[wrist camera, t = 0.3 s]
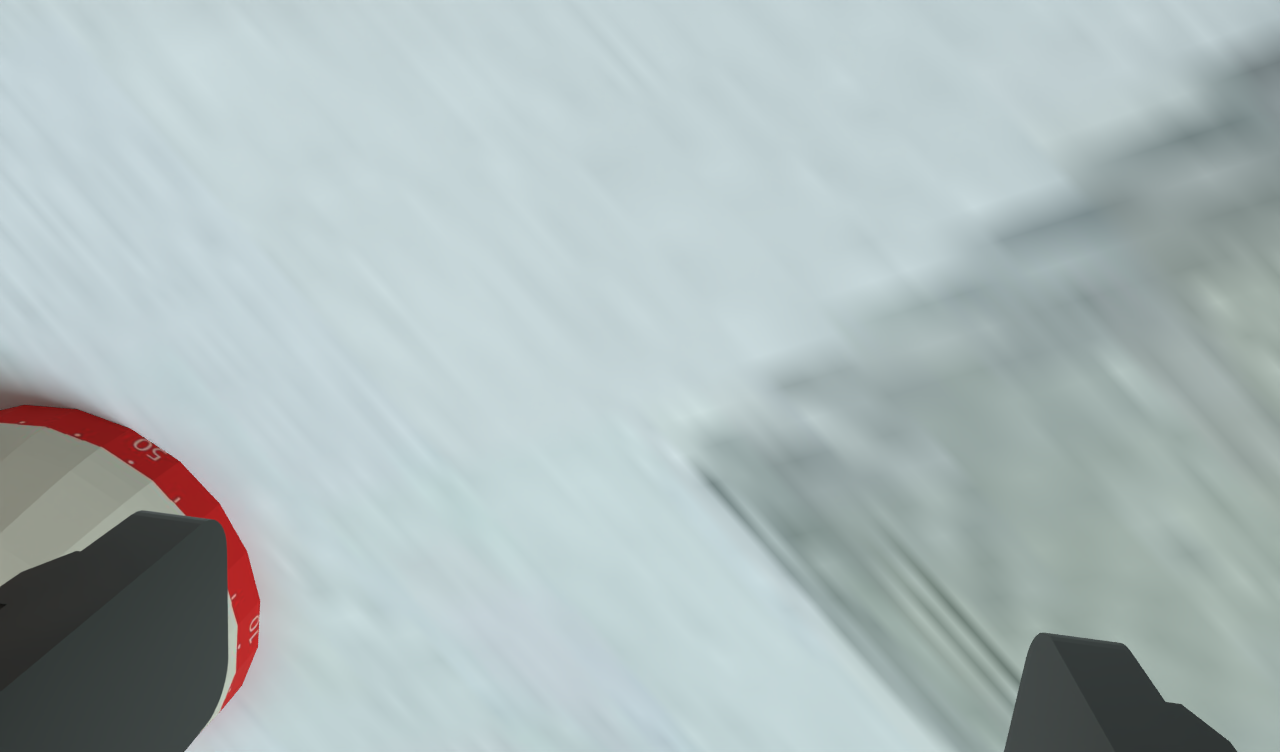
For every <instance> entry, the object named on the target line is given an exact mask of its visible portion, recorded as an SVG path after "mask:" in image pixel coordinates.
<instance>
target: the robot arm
mask: <svg viewBox="0 0 1280 752" xmlns="http://www.w3.org/2000/svg"><path fill="white" fill-rule="evenodd" d="M227 669H228V581H227V541H226V535H225V532H224V529H223V527H222V525H221V524H220V523H219V522H218V521H216V520H213V519H206V518H198V517H191V516H183V515H176V514H168V513H161V512H153V511H146V510H141V511H137V512H135V513H133V514H132V515H130V516H129V517H127V518H126V519H125V520H123V521H122V522H121V523H119V524H118V525H116V526H115V527H114V528H112V529H111V530H109V531H108V532H107V533H105V534H104V535H103V536H101V537H100V538H98V539H97V540H96V541H94V542H93V543H91V544H90V545H89V546H87V547H86V548H85V549H83V550H82V551H74V552H72V553H69V554H67V555H64V556H61V557H59V558H56V559H54V560H51V561H48V562H46V563H43V564H41V565H38V566H36V567H33V568H30V569H28V570H25V571H23V572H20V573H19V574H18V575H16V576H15V577H13V578H12V579H10V580H9V581H7V582H6V583H5V584H3V585H2V586H0V752H184V751H185V750H186V749H187V748H188V747H189V745H190V744H191V743H192V742H193V740H194V739H195V738H196V737H197V736H198V734H199V733H200V732H201V731H202V729H203V728H204V727H205V726H206V724H207V723H208V722H209V720H210V719H211V717H212V715H213V714H214V712H215V709H216V707H217V705H218V703H219V700H220V698H221V695H222V692H223V688H224V684H225V680H226V675H227ZM1004 752H1237V751H1236V749H1235V748H1234V747H1233V745H1232V744H1231V743H1230V742H1229V741H1228V740H1227V739H1226V738H1224V737H1223V736H1222V735H1220V734H1219V733H1218V732H1216V731H1215V730H1214V729H1213V728H1211V727H1210V726H1209V725H1207V724H1206V723H1205V722H1204V721H1202V720H1201V719H1200V718H1198V717H1197V716H1196V715H1195V714H1193V713H1192V712H1191V711H1189V710H1188V709H1187V708H1185V707H1184V706H1183V705H1182V704H1176V703H1169V702H1165V701H1164V699H1163V698H1162V696H1161V695H1160V693H1159V692H1158V690H1157V689H1156V688H1155V686H1154V685H1153V683H1152V682H1151V680H1150V679H1149V677H1148V676H1147V674H1146V673H1145V672H1144V670H1143V669H1142V667H1141V666H1140V664H1139V663H1138V661H1137V660H1136V658H1135V657H1134V656H1133V654H1132V653H1131V651H1130V650H1129V649H1128V648H1127V646H1125V645H1124V644H1122V643H1117V642H1109V641H1102V640H1094V639H1087V638H1079V637H1072V636H1065V635H1057V634H1050V633H1039V634H1038V635H1037V636H1036V637H1035V638H1034V640H1033V641H1032V643H1031V645H1030V648H1029V650H1028V653H1027V657H1026V661H1025V665H1024V669H1023V674H1022V678H1021V682H1020V686H1019V691H1018V695H1017V699H1016V703H1015V708H1014V712H1013V716H1012V720H1011V725H1010V729H1009V733H1008V737H1007V742H1006V746H1005V750H1004Z"/></svg>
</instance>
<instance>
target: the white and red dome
mask: <svg viewBox="0 0 1280 752" xmlns="http://www.w3.org/2000/svg"><path fill="white" fill-rule="evenodd" d="M141 510H146V511H153V512H161V513H168V514H176V515H183V516H191V517H198V518H206V519H213V520H216V521H218V522H219V523H220V524H221V525H222V527H223V529H224V532H225V535H226V541H227V581H228V669H227V675H226V680H225V684H224V688H223V692H222V695H221V698H220V700H219V703H218V705H217V707H216V709H215V712H214V714H213V715H212V717H211V719H210V720H209V722H208V723H207V724H206V726H207V725H208V724H209V723H210V722H211V721H212V720H213V719H214V718H215V717H216V716H217V715H218V714H219V713H220V711H221V710H222V709H223V708H224V706H225V705H226V704H227V703H228V702H229V700H230V699H231V698H232V697H233V696H234V694H235V693H236V692H237V691H238V690H239V688H240V687H241V686H242V684H243V681H244V679H245V677H246V674H247V672H248V669H249V667H250V665H251V662H252V660H253V657H254V655H255V652H256V650H257V648H258V633H259V611H260V599H259V595H258V591H257V588H256V584H255V580H254V576H253V572H252V569H251V565H250V561H249V557H248V553H247V551H246V549H245V547H244V545H243V544H242V542H241V540H240V538H239V537H238V535H237V533H236V531H235V530H234V528H233V526H232V524H231V523H230V521H229V519H228V517H227V516H226V514H225V512H224V510H223V509H222V507H221V505H220V504H219V502H218V501H217V500H216V499H215V498H214V497H213V496H212V495H211V494H210V493H209V492H208V491H207V490H206V489H205V488H204V487H203V486H202V484H201V483H200V482H199V481H198V480H197V479H196V478H195V477H194V476H193V475H192V474H191V473H190V472H189V471H188V470H187V469H186V468H185V466H184V465H183V464H182V463H181V462H180V461H178V460H177V459H175V458H174V457H172V456H171V455H169V454H168V453H166V452H165V451H163V450H162V449H160V448H159V447H157V446H156V445H154V444H153V443H151V442H150V441H148V440H147V439H145V438H144V437H142V436H141V435H139V434H138V433H136V432H135V431H133V430H132V429H130V428H127V427H124V426H122V425H119V424H116V423H113V422H111V421H108V420H105V419H102V418H100V417H97V416H94V415H91V414H89V413H86V412H83V411H80V410H78V409H67V408H55V407H43V406H32V405H22V406H18V407H13V408H9V409H5V410H0V586H2V585H3V584H5V583H6V582H7V581H9V580H10V579H12V578H13V577H15V576H16V575H18V574H19V573H20V572H23V571H25V570H28V569H30V568H33V567H36V566H38V565H41V564H43V563H46V562H48V561H51V560H54V559H56V558H59V557H61V556H64V555H67V554H69V553H72V552H74V551H82V550H83V549H85V548H86V547H87V546H89V545H90V544H91V543H93V542H94V541H96V540H97V539H98V538H100V537H101V536H103V535H104V534H105V533H107V532H108V531H109V530H111V529H112V528H114V527H115V526H116V525H118V524H119V523H121V522H122V521H123V520H125V519H126V518H127V517H129V516H130V515H132V514H133V513H135V512H137V511H141ZM206 726H205V727H206ZM205 727H204V728H205ZM204 728H203V729H204ZM203 729H202V730H203Z"/></svg>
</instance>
